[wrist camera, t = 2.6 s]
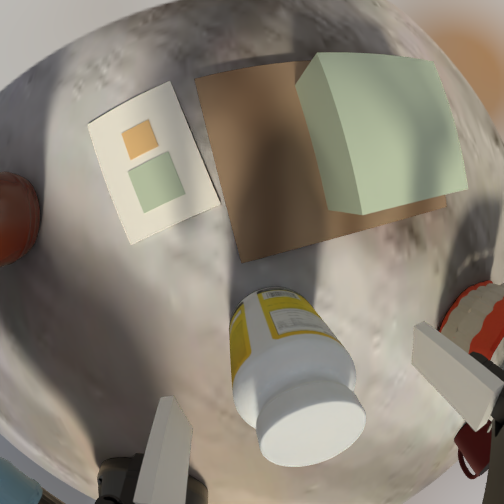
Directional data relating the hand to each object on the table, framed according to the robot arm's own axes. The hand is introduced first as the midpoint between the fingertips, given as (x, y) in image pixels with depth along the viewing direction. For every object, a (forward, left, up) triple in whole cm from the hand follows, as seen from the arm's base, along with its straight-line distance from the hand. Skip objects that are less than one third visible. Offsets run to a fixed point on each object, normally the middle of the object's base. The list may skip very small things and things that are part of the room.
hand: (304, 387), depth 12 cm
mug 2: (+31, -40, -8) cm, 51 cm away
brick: (+10, +12, -7) cm, 17 cm away
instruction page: (-6, +14, -8) cm, 17 cm away
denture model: (+20, -9, -9) cm, 23 cm away
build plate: (+8, +12, -8) cm, 16 cm away
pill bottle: (0, 0, -8) cm, 8 cm away
